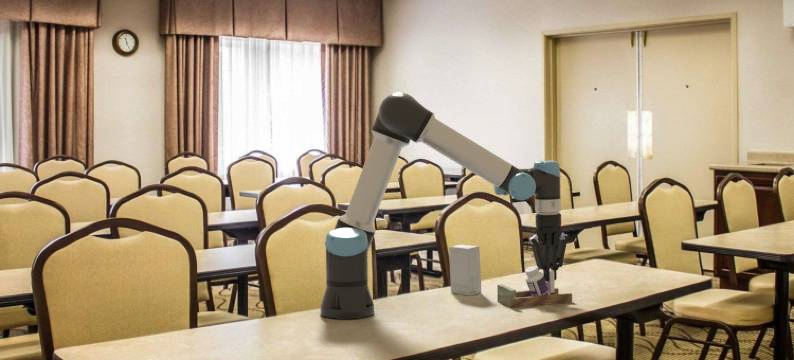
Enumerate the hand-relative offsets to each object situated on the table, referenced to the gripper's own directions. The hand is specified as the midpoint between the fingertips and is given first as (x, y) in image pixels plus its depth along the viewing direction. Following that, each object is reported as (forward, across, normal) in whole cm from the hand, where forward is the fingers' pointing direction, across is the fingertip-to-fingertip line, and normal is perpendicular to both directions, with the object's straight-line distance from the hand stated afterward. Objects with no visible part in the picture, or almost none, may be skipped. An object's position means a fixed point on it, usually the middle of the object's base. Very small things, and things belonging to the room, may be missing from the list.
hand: (550, 291), depth 268 cm
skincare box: (+2, -19, +19) cm, 27 cm away
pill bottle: (+2, -3, 0) cm, 3 cm away
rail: (+3, -5, 0) cm, 6 cm away
